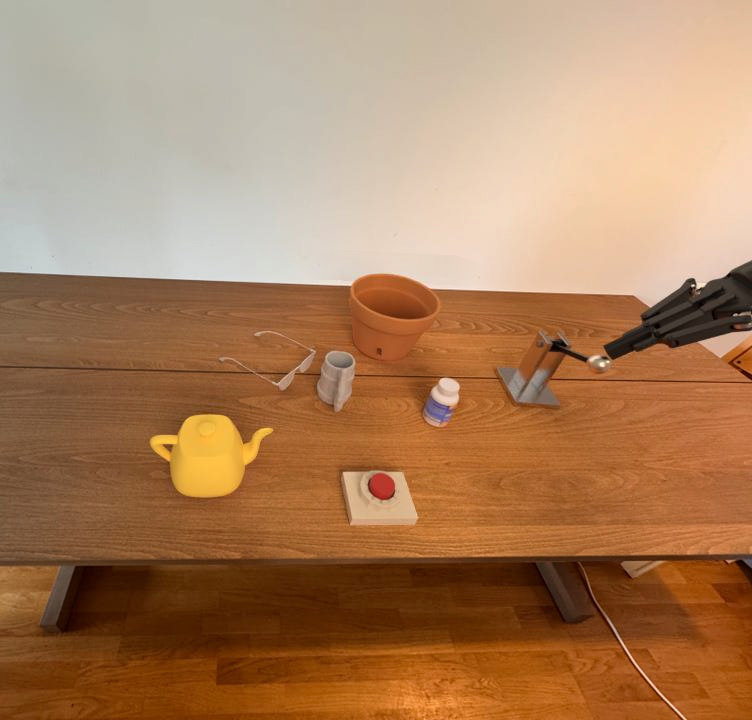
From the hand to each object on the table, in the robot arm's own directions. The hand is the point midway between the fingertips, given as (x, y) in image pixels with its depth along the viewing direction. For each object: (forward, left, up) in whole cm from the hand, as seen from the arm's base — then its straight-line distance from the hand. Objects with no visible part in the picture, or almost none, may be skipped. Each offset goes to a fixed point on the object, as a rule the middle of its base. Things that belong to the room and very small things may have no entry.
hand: (607, 352), depth 75 cm
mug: (+42, +19, -21) cm, 50 cm away
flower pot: (+41, -7, -21) cm, 46 cm away
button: (+25, +37, -17) cm, 48 cm away
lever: (+3, -5, -7) cm, 9 cm away
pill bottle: (+22, +11, -21) cm, 32 cm away
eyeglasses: (+61, +17, -21) cm, 66 cm away
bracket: (+7, -11, -21) cm, 25 cm away
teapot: (+51, +49, -21) cm, 74 cm away
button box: (+25, +37, -21) cm, 49 cm away
